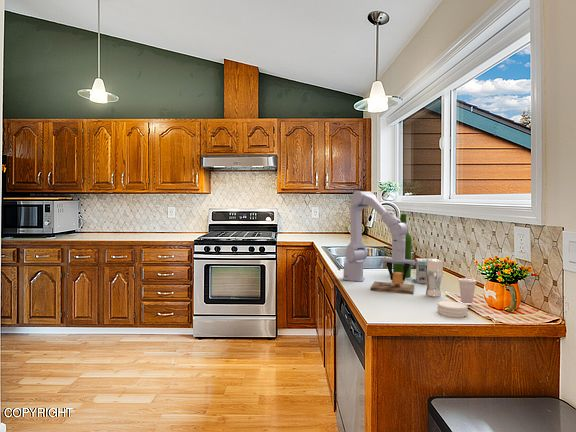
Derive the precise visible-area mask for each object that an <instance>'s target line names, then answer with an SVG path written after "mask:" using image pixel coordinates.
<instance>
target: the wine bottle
mask: <svg viewBox="0 0 576 432" xmlns="http://www.w3.org/2000/svg"><path fill="white" fill-rule="evenodd" d="M400 220H401V222H404V223H406V224H407V213H406V214H405V213H401V214H400ZM412 242H413V240H412V236H411V235H410V233H409V232H408V233H407V234H406V241H405V259H407V260H412V245H413V244H412ZM397 263H402V262H397ZM393 272H401V273H403V275H404V264H393V267H392V273H393ZM411 272H412V265H410V267H409V269H408V271H407V273H406V276H405V279H408V278H411V275H412V273H411Z"/></svg>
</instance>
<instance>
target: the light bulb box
mask: <svg viewBox="0 0 576 432" xmlns="http://www.w3.org/2000/svg"><path fill="white" fill-rule="evenodd" d="M426 259H427V258H419V257H416V259H415V267H416V268H415V279H416V282H417V283H418V284H427V282H426V275H425V266H426Z"/></svg>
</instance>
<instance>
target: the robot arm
mask: <svg viewBox="0 0 576 432" xmlns="http://www.w3.org/2000/svg"><path fill="white" fill-rule="evenodd" d="M350 199H351V201H350V204H349V205H350V206H349V211H350V212H349V220H350V222H349V224H350V227H349V230H350V231H349V232H350V242H349V244H348V245H347V246H346V250H345V254H344V255H345V259H346V260H347V261H344V263H343V279H342V280H343V281H351V282H352V281H353V282H363V281H364V280H365V277H364V262H365V260H366V259H367V256H368V253H367V250H366V245H365V244H364V243H363V234H362V233H363V232H362V231H363V230H362V223H363V222H362V211H363V209H365V208H366V207H367V206H370V207H371V208H372V209H373V210H374V211H375V212H376V213H377V214H378V215H380V218H381V219H380V220H381V221H382V222H383V223H384V224H385V226H386V227H388V229H389V233H390V236H391V239H392V240H391V258H387V257H386V258H383V257H381V259H380V260H381V264H384V263H385V264H386V265H385V266H386V268H387V270H388V273H389V277H390V281H392V273H393V264H404V275H403V282H404V281H406V278H405V276H406V273H407V271H408V269H409V267H410V265H411V266H416V259H411V260H407V259H405V241H406V234H407V233H409V225H407V222H406V223H404V222H401V220H400V219H398V217H397V216H396V214H395V213H394V211H391V210H387V209H386V208H385V207H384V206H383V205H382V203H381V202H380V201H379V200H378V198H377V195H376V194H374V193H373V192H372V191H365V190H364V191H362V190H357V191H354V192H353V193H352V194H351V198H350ZM397 262H402V263H397Z"/></svg>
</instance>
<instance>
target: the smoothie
mask: <svg viewBox="0 0 576 432" xmlns="http://www.w3.org/2000/svg"><path fill="white" fill-rule="evenodd" d="M458 283H459V292H460V293H459V295H460V303H461V302H463V303H472V304H473V301H474V294H475V288H476V284H477V280H476V279H474V278H468V268H465V277H464V278H463V277H461V278H458Z"/></svg>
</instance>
